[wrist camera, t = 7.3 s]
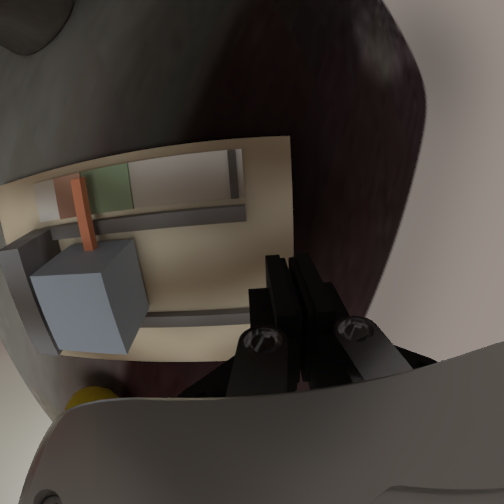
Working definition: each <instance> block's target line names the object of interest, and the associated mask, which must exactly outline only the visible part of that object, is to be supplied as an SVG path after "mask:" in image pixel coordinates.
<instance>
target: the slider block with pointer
mask: <svg viewBox="0 0 504 504" xmlns="http://www.w3.org/2000/svg"><path fill="white" fill-rule="evenodd" d="M71 187H72V193H73V199H74V205H75V210H76V215H77V220H78V225H79V230H80V235H81V239H82V243H83V244H74V245H70V246H68V247H67V248H66V249H64V250H63V251H62V252H60V253H59V254H58V255H56V256H55V257H54V258H52V259H51V260H50V261H49V262H47V263H46V264H45V265H43V266H42V267H41V268H40V269H38V270H37V271H36V272H35V273H33V274H32V275H31V276H30V278H31V281H32V284H33V287H34V290H35V293H36V296H37V298H38V301H39V304H40V306H41V309H42V311H43V314H44V316H45V319H46V321H47V324H48V326H49V328H50V330H51V333H52V335H53V337H54V339H55V342H56V344H57V346H58V348H59V350H69V351H80V352H92V353H106V354H125V355H127V354H128V352H129V350H130V348H131V345H132V343H133V341H134V339H135V337H136V335H137V333H138V330H139V328H140V326H141V324H142V322H143V320H144V318H145V316H146V314H147V312H148V310H149V304H148V300H147V296H146V292H145V288H144V284H143V280H142V275H141V271H140V266H139V262H138V257H137V252H136V247H135V242H134V238H133V239H123V240H112V241H103V242H97V241H96V236H95V232H94V227H93V222H92V217H91V211H90V206H89V200H88V194H87V188H86V181H85V176H84V177H80V178H75V179H72V180H71Z"/></svg>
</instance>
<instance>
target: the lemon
mask: <svg viewBox="0 0 504 504" xmlns="http://www.w3.org/2000/svg"><path fill="white" fill-rule="evenodd" d="M114 398H119V397H118V396H117V395H116V394H115V393H113V392H112V390H111V389H109V388H104V387H100V386H89V387H85V388H83V389H81V390H79V391H78V392H76V393H75V394H74V395H73V396H72V398H71V399H70V401H69V402H68V404H67V406H66V408H65V411H66V410H67V409H69V408H72V407H74V406H77V405H80V404H83V403H88V402H92V401H97V400H104V399H114Z"/></svg>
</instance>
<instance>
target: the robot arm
mask: <svg viewBox="0 0 504 504" xmlns="http://www.w3.org/2000/svg"><path fill="white" fill-rule="evenodd" d="M265 268H266V288H255V289H248V294H249V312H250V328H249V329H247V330H245V331H244V332H243V333H242V334H241V335H240V337H239V340H238V344H237V348H236V353H235V355H234V356H233V357H232V358H230V359H229V360H227V361H226V362H225V363H223V364H222V365H220V366H219V367H218V368H216V369H215V370H213V371H212V372H210V373H209V374H208V375H206V376H205V377H203V378H202V379H200V380H199V381H197V382H196V383H195V384H193V385H192V386H190V387H189V388H187V389H186V390H184V391H183V392H182V393H181V394H179V395H178V397H177V398H168V397H161V398H139V397H135V398H114V399H104V400H97V401H92V402H88V403H83V404H80V405H77V406H74V407H72V408H69V409H67V410H66V411H64V412H63V413H61V414H60V415H59V416H58V417H57V418H56V419H55V421H54V422H53V423H52V424H51V426H50V427H49V429H48V430H47V432H46V434H45V436H44V437H43V439H42V441H41V443H40V445H39V448H38V449H37V452H36V454H35V456H34V459H33V461H32V464H31V466H30V469H29V471H28V474H27V477H26V479H25V483H24V486H23V489H22V493H21V496H20V500H19V503H18V504H504V342H500V343H496V344H493V345H490V346H487V347H484V348H481V349H478V350H475V351H472V352H469V353H466V354H463V355H460V356H457V357H454V358H451V359H447V360H444V361H441V362H437V361H435V360H433V359H431V358H428V357H425V356H422V355H420V354H417V353H414V352H411V351H408V350H406V349H403V348H400V347H398V346H395V345H393V344H392V343H391V342H390V340H389V339H388V338H387V337H386V336H385V334H384V333H383V332H382V331H381V330H380V328H379V327H378V326H377V325H376V324H375V323H374V322H373V321H372V320H370V319H368V318H365V317H361V316H349V314H348V312H347V310H346V308H345V306H344V304H343V302H342V300H341V299H340V297H339V295H338V293H337V291H336V289H335V287H334V285H333V284H332V282H326V283H323V282H322V280H321V278H320V276H319V273H318V271H317V269H316V267H315V265H314V263H313V261H312V259H311V258H310V256H309V254H308V252H305V253H294V254H293V257H289V259H288V266H287V263H286V260H285V258H280V256H279V254H278V255H265ZM300 371H301V375H302V379H303V382H307V381H308V382H309V387H310V390H305V391H297V392H295V391H296V390H297V383H299V377H300Z"/></svg>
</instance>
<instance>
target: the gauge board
mask: <svg viewBox="0 0 504 504" xmlns="http://www.w3.org/2000/svg"><path fill="white" fill-rule="evenodd" d="M84 176H85V181H86V188H87V194H88V200H89V206H90V211H91V217H92V222H93V227H94V232H95V236H96V241H97V242H103V241H112V240H123V239H133V238H134V242H135V247H136V252H137V257H138V262H139V266H140V271H141V275H142V280H143V284H144V288H145V292H146V296H147V300H148V304H149V310H148V312H147V314H146V316H145V318H144V320H143V322H142V324H141V326H140V328H139V330H138V333H137V335H136V337H135V339H134V341H133V343H132V345H131V348H130V350H129V352H128V354H127V355H125V354H106V353H92V352H80V351H69V350H59V348H58V346H57V344H56V342H55V339H54V337H53V335H52V333H51V330H50V328H49V326H48V324H47V321H46V319H45V316H44V314H43V311H42V309H41V306H40V304H39V301H38V298H37V296H36V293H35V290H34V287H33V284H32V281H31V278H30V276H31V275H32V274H33V273H35V272H36V271H37V270H38V269H40V268H41V267H42V266H43V265H45V264H46V263H47V262H49V261H50V260H51V259H52V258H54V257H55V256H56V255H58V254H59V253H60V252H62V251H63V250H64V249H66V248H67V247H68V246H70V245H74V244H83V243H82V239H81V235H80V230H79V225H78V220H77V215H76V210H75V205H74V199H73V193H72V187H71V180H72V179H75V178H80V177H84ZM0 220H1V224H2V229H3V233H4V237H5V241H6V244H7V246H5V247H4V248H2V249H0V263H1V266H2V269H3V272H4V275H5V278H6V281H7V284H8V287H9V290H10V292H11V295H12V298H13V300H14V303H15V305H16V308H17V310H18V313H19V315H20V317H21V320H22V322H23V324H24V327H25V329H26V331H27V333H28V335H29V337H30V339H31V341H32V344H33V346H34V348H35V350H36V351H37V353H40V354H47V355H54V356H59V355H66V356H75V357H85V358H97V359H111V360H129V361H160V362H197V361H227V360H229V359H230V358H232V357H233V356H234V355H235V353H236V348H237V344H238V340H239V337H240V335H241V334H242V333H243V332H244V331H245V330H247V329H249V328H250V312H249V294H248V289H255V288H266V268H265V255H278V254H279V256H280V258H285V260H286V263H287V266H288V259H289V257H293V254H294V242H293V199H292V171H291V149H290V136H274V137H254V138H238V139H226V140H215V141H205V142H196V143H187V144H180V145H172V146H165V147H158V148H152V149H146V150H140V151H134V152H128V153H123V154H118V155H113V156H108V157H103V158H98V159H94V160H89V161H85V162H81V163H77V164H73V165H69V166H65V167H61V168H57V169H53V170H50V171H46V172H43V173H39V174H36V175H32V176H29V177H26V178H23V179H20V180H16V181H13V182H10V183H7V184H4V185H2V186H0Z"/></svg>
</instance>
